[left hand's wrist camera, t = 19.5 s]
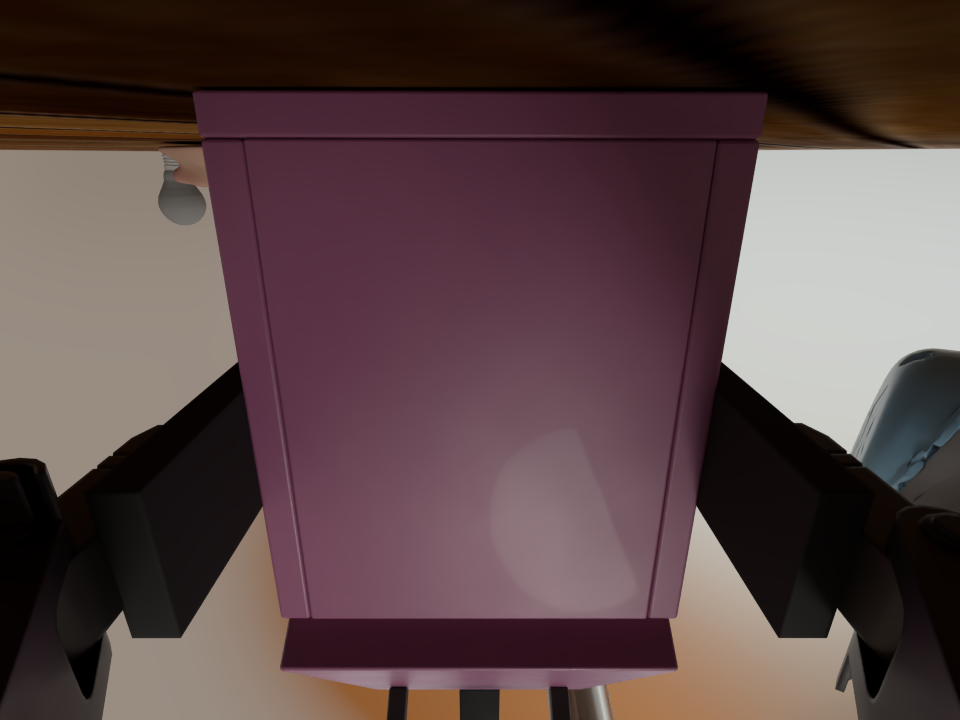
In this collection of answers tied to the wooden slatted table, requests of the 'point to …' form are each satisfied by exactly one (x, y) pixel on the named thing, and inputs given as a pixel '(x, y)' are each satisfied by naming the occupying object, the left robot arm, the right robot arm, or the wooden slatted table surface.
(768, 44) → the wooden slatted table surface
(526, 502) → the chest
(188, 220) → the light bulb
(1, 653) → the left robot arm
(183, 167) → the anatomical model
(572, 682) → the lid
